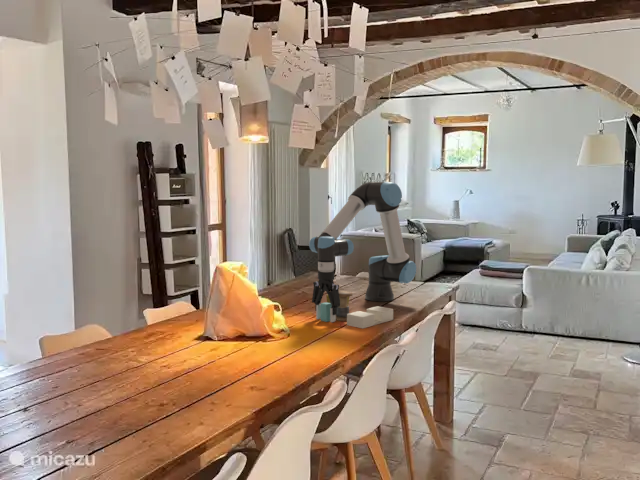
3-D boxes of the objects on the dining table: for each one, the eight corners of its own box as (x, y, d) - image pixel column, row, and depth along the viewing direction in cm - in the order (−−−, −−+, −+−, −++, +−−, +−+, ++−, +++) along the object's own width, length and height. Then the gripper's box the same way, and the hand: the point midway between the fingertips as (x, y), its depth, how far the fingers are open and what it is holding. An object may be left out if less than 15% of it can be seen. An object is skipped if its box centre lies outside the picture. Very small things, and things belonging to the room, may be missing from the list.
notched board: (377, 316, 293) (377, 306, 292) (393, 319, 287) (393, 308, 286) (346, 325, 277) (346, 314, 276) (362, 328, 271) (362, 317, 270)
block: (325, 319, 288) (325, 302, 287) (331, 320, 285) (331, 303, 284) (320, 320, 285) (320, 303, 284) (326, 321, 283) (326, 304, 282)
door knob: (341, 315, 295) (341, 290, 294) (356, 318, 289) (356, 292, 288) (328, 318, 289) (328, 293, 287) (343, 321, 283) (343, 295, 281)
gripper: (303, 269, 287) (303, 317, 289) (337, 274, 273) (337, 325, 275) (315, 267, 292) (315, 315, 295) (349, 272, 278) (348, 322, 281)
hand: (325, 320), depth 285 cm, fingers open, 8 cm apart
